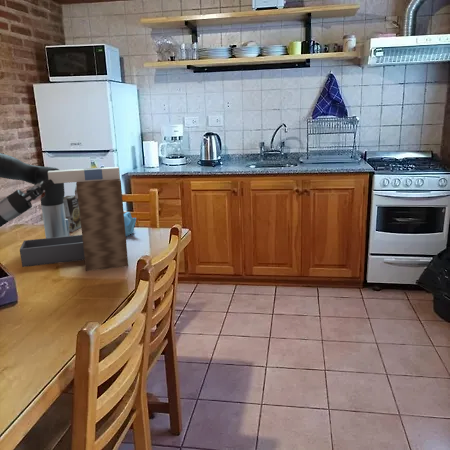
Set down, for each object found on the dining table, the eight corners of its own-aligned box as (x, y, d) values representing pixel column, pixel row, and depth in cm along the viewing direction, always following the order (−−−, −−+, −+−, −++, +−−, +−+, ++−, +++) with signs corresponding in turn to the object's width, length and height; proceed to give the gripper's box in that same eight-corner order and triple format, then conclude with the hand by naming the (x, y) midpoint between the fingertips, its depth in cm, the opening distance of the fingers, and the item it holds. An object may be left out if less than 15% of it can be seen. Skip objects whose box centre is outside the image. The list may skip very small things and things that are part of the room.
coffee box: (73, 231, 210) (69, 199, 206) (61, 231, 212) (56, 198, 208) (82, 226, 219) (79, 195, 215) (71, 226, 220) (67, 195, 216)
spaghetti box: (49, 183, 152) (47, 172, 150) (50, 182, 155) (48, 170, 154) (119, 179, 158) (119, 167, 157) (119, 177, 162) (118, 166, 161)
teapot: (138, 236, 200) (136, 213, 197) (104, 241, 195) (102, 217, 192) (132, 228, 214) (131, 207, 211) (101, 232, 209) (99, 210, 206)
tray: (22, 267, 164) (19, 249, 163) (26, 257, 176) (23, 240, 174) (107, 257, 173) (105, 240, 171) (106, 248, 184) (104, 232, 182)
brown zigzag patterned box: (83, 271, 158) (73, 183, 150) (84, 260, 170) (74, 178, 161) (128, 265, 163) (120, 180, 155) (125, 255, 174) (118, 175, 166)
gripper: (2, 201, 144) (44, 173, 146) (9, 193, 157) (48, 168, 159) (18, 219, 147) (59, 191, 148) (23, 209, 160) (61, 185, 162)
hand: (53, 179), depth 154 cm, fingers open, 8 cm apart
